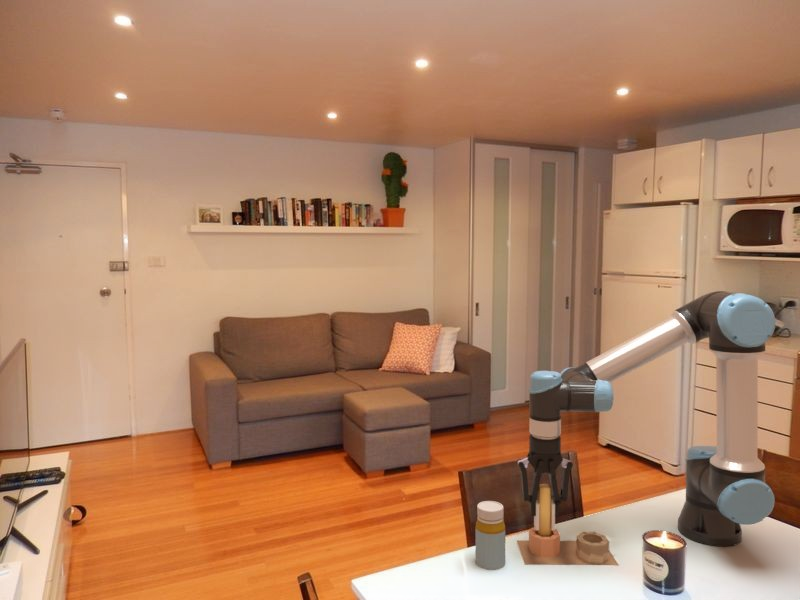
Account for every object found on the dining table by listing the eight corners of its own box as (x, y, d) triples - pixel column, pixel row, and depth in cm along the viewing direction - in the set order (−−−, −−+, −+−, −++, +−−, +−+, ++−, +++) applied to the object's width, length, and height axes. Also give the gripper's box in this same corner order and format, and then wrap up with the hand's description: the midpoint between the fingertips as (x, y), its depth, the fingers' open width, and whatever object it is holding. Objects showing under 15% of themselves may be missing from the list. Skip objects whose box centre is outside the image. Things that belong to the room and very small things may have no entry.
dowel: (548, 546, 150) (549, 483, 149) (551, 552, 147) (552, 488, 146) (536, 546, 150) (537, 483, 149) (539, 552, 148) (539, 488, 146)
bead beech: (602, 549, 149) (602, 531, 149) (611, 563, 142) (611, 545, 142) (574, 549, 149) (574, 531, 149) (581, 563, 142) (581, 545, 142)
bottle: (507, 562, 146) (507, 502, 145) (502, 576, 139) (502, 514, 138) (478, 557, 148) (478, 498, 147) (472, 572, 141) (472, 510, 140)
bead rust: (555, 543, 152) (555, 526, 152) (561, 557, 145) (561, 539, 145) (527, 543, 153) (527, 526, 152) (532, 557, 146) (532, 539, 145)
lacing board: (603, 545, 153) (603, 540, 153) (618, 569, 142) (618, 564, 141) (516, 544, 154) (516, 540, 154) (524, 569, 142) (524, 564, 142)
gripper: (574, 430, 150) (573, 521, 152) (509, 430, 151) (509, 521, 152) (582, 439, 143) (581, 535, 144) (514, 439, 143) (513, 534, 145)
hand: (544, 527), depth 148 cm, fingers open, 3 cm apart
